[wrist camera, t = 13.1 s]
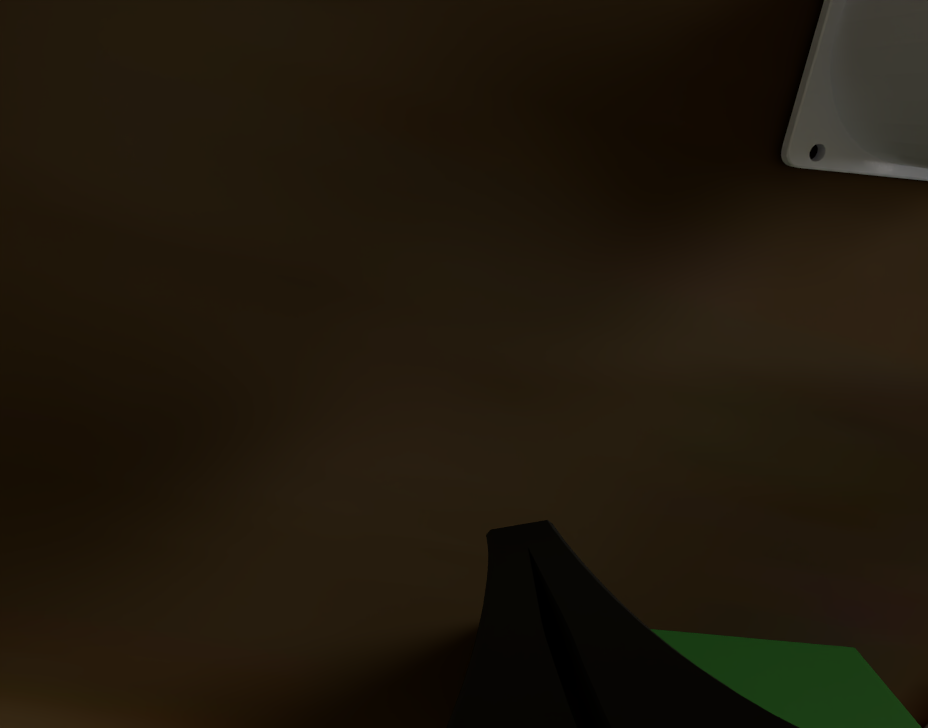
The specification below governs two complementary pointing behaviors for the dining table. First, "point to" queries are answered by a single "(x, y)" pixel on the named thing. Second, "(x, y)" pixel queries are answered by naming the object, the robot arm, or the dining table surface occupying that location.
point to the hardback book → (797, 680)
